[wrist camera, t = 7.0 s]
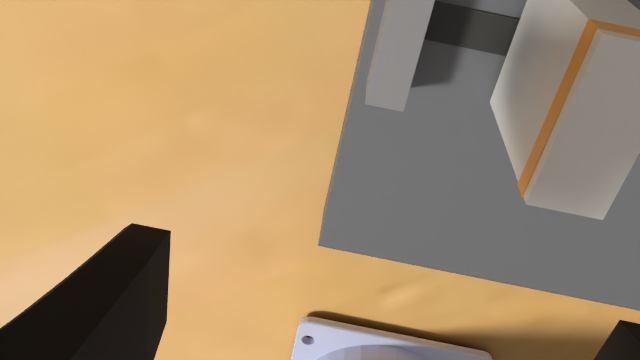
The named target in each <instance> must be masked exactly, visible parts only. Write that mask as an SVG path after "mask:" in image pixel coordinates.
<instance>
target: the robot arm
mask: <svg viewBox="0 0 640 360" xmlns="http://www.w3.org/2000/svg"><path fill="white" fill-rule="evenodd" d="M170 234H171V231H168V230H163V229H158V228H153V227H148V226H143V225H138V224H133V223H132V224H130V225H129V226H127V227H125V228H124V229H123V230H122V231H121V232H120V233H118V234H117V235H116V236H115V237H114V238H113V239H111V240H110V241H109V242H108V243H107V244H106V245H104V246H103V247H102V248H101V249H100V250H99V251H98V252H96V253H95V254H94V255H93V256H92V257H90V258H89V259H88V260H87V261H86V262H85V263H83V264H82V265H81V266H80V267H78V268H77V269H76V270H75V271H74V272H72V273H71V274H70V275H69V276H68V277H66V278H65V279H64V280H63V281H61V282H60V283H59V284H58V285H56V286H55V287H54V288H53V289H51V290H50V291H49V292H47V293H46V294H45V295H44V296H42V297H41V298H40V299H39V300H37V301H36V302H35V303H33V304H32V305H31V306H30V307H28V308H27V309H26V310H25V311H23V312H22V313H21V314H19V315H18V316H17V317H15V318H14V319H13V320H11V321H10V322H9V323H7V324H6V325H4V326H3V327H2V328H0V360H154V357H155V354H156V351H157V348H158V345H159V342H160V339H161V336H162V333H163V330H164V327H165V324H166V321H167V300H168V278H169V256H170ZM305 336H311V338H308V337H305ZM291 360H492V357H491V355H490V354H489V353H488V352H485V351H482V350H477V349H472V348H467V347H462V346H457V345H452V344H447V343H442V342H437V341H432V340H427V339H422V338H417V337H412V336H407V335H402V334H397V333H392V332H387V331H382V330H377V329H372V328H367V327H362V326H357V325H352V324H347V323H342V322H337V321H332V320H327V319H322V318H317V317H309V316H308V317H304V318H302V319H301V320H300V322H299V324H298V329H297V333H296V337H295V342H294V346H293V351H292V355H291ZM594 360H640V324H637V323H632V322H627V321H622V320H620V321H619V322H618V324H617V325H616V327H615V328H614V330H613V331H612V333H611V334H610V336H609V337H608V339H607V340H606V342H605V343H604V345H603V346H602V348H601V349H600V351H599V352H598V354H597V355H596V357H595V358H594Z"/></svg>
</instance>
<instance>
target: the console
mask: <svg viewBox="0 0 640 360" xmlns="http://www.w3.org/2000/svg"><path fill="white" fill-rule="evenodd" d="M526 1H527V0H371V3H370V7H369V11H368V16H367V20H366V25H365V29H364V34H363V38H362V43H361V47H360V52H359V56H358V60H357V65H356V69H355V74H354V78H353V83H352V87H351V92H350V96H349V100H348V105H347V109H346V114H345V118H344V123H343V127H342V132H341V136H340V141H339V145H338V149H337V154H336V158H335V163H334V167H333V172H332V176H331V181H330V185H329V190H328V194H327V198H326V203H325V207H324V212H323V218H322V225H321V231H320V238H319V244H318V246H322V247H327V248H332V249H337V250H342V251H347V252H352V253H357V254H362V255H367V256H372V257H377V258H382V259H387V260H392V261H397V262H402V263H407V264H412V265H417V266H422V267H427V268H431V269H436V270H441V271H446V272H451V273H456V274H461V275H466V276H471V277H476V278H481V279H486V280H491V281H496V282H501V283H506V284H511V285H516V286H521V287H526V288H531V289H536V290H541V291H546V292H550V293H555V294H560V295H565V296H570V297H575V298H580V299H585V300H590V301H595V302H600V303H605V304H610V305H615V306H620V307H625V308H630V309H635V310H640V153H639V155H638V157H637V159H636V161H635V162H634V164H633V166H632V168H631V170H630V172H629V173H628V175H627V177H626V179H625V181H624V183H623V184H622V186H621V188H620V190H619V192H618V194H617V195H616V197H615V199H614V201H613V203H612V205H611V206H610V208H609V210H608V212H607V214H606V216H605V217H604V219H603V220H600V219H595V218H590V217H585V216H580V215H575V214H570V213H565V212H561V211H556V210H551V209H546V208H541V207H536V206H531V205H526V203H525V200H524V197H522V196H521V193H520V190H519V187H518V180H517V178H516V175H515V172H514V169H513V166H512V163H511V161H510V158H509V155H508V152H507V149H506V147H505V144H504V141H503V138H502V135H501V132H500V130H499V127H498V124H497V121H496V118H495V116H494V113H493V110H492V107H491V104H490V100H491V97H492V94H493V91H494V89H495V86H496V83H497V81H498V78H499V75H500V72H501V70H502V67H503V64H504V61H505V59H506V56H507V53H508V51H509V48H510V45H511V42H512V40H513V37H514V34H515V31H516V29H517V26H518V23H519V21H520V18H521V15H522V12H523V10H524V7H525V4H526ZM627 1H629V2H630V3H631V4H632V5H634V6H635V7H636V8H638V9H639V10H640V0H627Z"/></svg>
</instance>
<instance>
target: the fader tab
mask: <svg viewBox="0 0 640 360" xmlns="http://www.w3.org/2000/svg"><path fill="white" fill-rule="evenodd" d="M490 104H491V107H492V110H493V113H494V116H495V118H496V121H497V124H498V127H499V130H500V132H501V135H502V138H503V141H504V144H505V147H506V149H507V152H508V155H509V158H510V161H511V163H512V166H513V169H514V172H515V175H516V178H517V180H518V187H519V190H520V193H521V196H522V197H524V200H525V203H526V205H531V206H536V207H541V208H546V209H551V210H556V211H561V212H565V213H570V214H575V215H580V216H585V217H590V218H595V219H600V220H603V219H604V217H605V216H606V214H607V212H608V210H609V208H610V206H611V205H612V203H613V201H614V199H615V197H616V195H617V194H618V192H619V190H620V188H621V186H622V184H623V183H624V181H625V179H626V177H627V175H628V173H629V172H630V170H631V168H632V166H633V164H634V162H635V161H636V159H637V157H638V155H639V153H640V10H639V9H638V8H636V7H635V6H634V5H632V4H631V3H630V2H629V1H627V0H527V1H526V4H525V7H524V10H523V12H522V15H521V18H520V21H519V23H518V26H517V29H516V31H515V34H514V37H513V40H512V42H511V45H510V48H509V51H508V53H507V56H506V59H505V61H504V64H503V67H502V70H501V72H500V75H499V78H498V81H497V83H496V86H495V89H494V91H493V94H492V97H491V100H490Z"/></svg>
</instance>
